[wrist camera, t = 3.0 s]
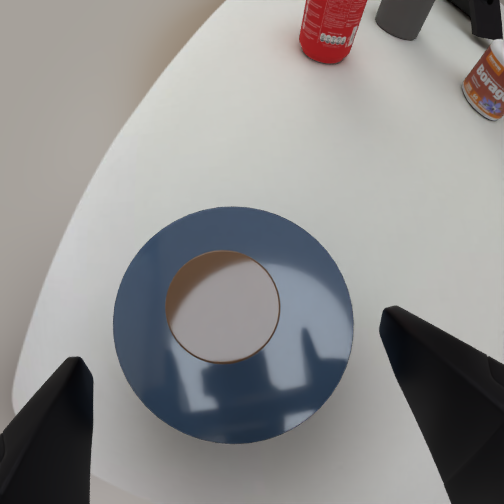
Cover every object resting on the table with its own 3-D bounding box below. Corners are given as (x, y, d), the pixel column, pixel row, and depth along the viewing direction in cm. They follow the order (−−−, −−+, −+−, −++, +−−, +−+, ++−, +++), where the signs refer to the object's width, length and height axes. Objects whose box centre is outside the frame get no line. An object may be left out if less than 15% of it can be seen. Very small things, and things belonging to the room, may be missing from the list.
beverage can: (292, 56, 27) (309, -48, 15) (304, 32, 28) (321, -60, 17) (343, 72, 26) (377, -28, 15) (350, 46, 28) (379, -43, 16)
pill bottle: (453, 89, 27) (498, 24, 17) (470, 77, 28) (510, 20, 18) (490, 129, 26) (544, 71, 15) (504, 113, 27) (551, 61, 17)
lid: (331, 444, 14) (412, 524, 5) (109, 413, 14) (2, 460, 5) (352, 229, 17) (435, 137, 9) (143, 203, 17) (78, 96, 9)
